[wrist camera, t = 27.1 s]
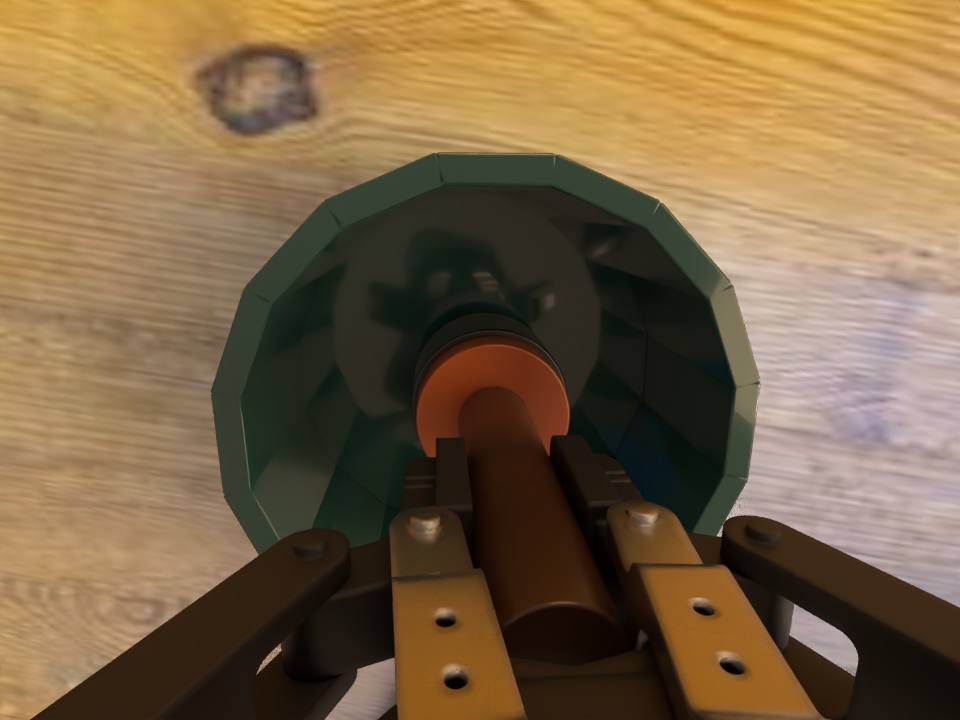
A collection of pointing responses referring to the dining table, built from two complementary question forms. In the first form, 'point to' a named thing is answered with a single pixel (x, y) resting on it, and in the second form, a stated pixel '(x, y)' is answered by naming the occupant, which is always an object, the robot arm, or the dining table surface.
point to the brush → (517, 486)
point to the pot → (468, 290)
